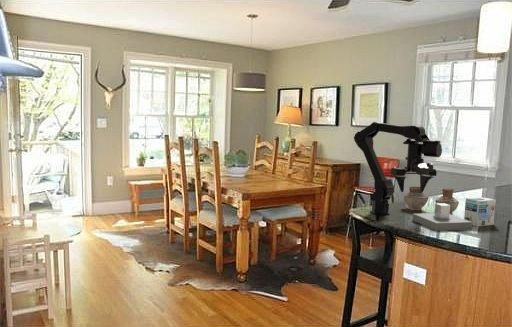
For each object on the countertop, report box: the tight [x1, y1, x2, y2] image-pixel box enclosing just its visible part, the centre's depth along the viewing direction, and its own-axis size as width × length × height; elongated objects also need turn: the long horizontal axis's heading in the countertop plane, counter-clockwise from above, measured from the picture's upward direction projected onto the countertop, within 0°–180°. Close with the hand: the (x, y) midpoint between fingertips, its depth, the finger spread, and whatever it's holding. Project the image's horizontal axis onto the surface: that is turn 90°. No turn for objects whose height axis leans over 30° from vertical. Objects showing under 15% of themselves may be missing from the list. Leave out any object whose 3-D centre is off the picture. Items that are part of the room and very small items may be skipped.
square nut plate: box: [412, 212, 473, 231], centre depth 175 cm, size 16×16×3 cm
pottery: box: [402, 185, 460, 215], centre depth 200 cm, size 11×25×12 cm, turn 49°
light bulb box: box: [463, 196, 497, 227], centre depth 179 cm, size 11×7×11 cm, turn 116°
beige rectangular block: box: [434, 202, 450, 220], centre depth 175 cm, size 4×4×8 cm
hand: (412, 191), depth 182 cm, fingers open, 9 cm apart
